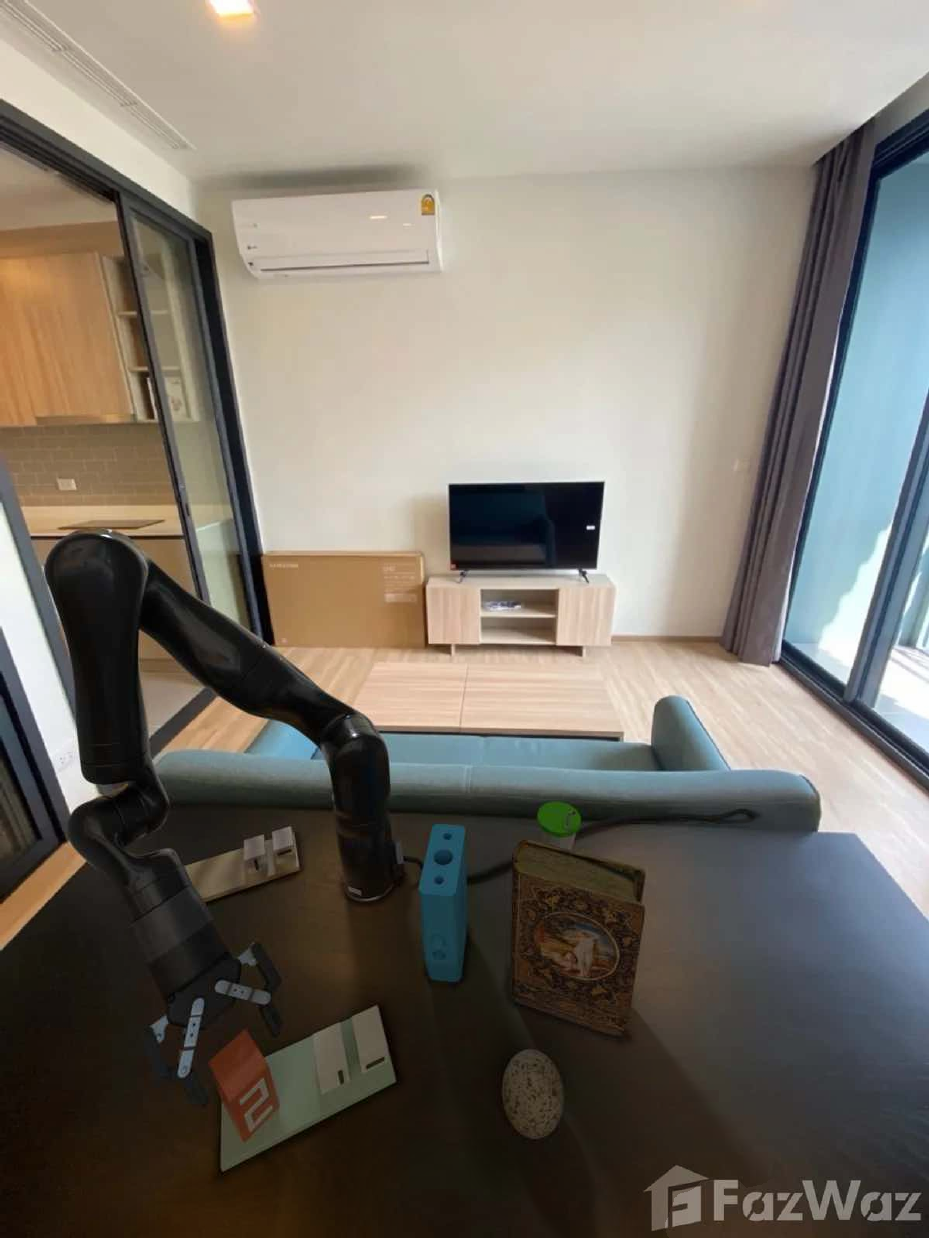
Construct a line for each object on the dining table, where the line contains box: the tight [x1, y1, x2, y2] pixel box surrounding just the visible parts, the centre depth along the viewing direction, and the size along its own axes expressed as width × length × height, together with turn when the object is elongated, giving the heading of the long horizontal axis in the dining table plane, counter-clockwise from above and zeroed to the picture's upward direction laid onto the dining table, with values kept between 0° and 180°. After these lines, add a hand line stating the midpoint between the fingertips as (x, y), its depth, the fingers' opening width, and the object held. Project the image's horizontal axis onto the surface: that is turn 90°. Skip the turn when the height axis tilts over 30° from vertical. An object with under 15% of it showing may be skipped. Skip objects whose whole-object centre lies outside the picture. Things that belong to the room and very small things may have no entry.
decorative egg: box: [501, 1048, 565, 1140], centre depth 58 cm, size 7×7×10 cm
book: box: [508, 839, 646, 1038], centre depth 66 cm, size 16×6×25 cm, turn 71°
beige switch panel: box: [183, 825, 301, 903], centre depth 92 cm, size 20×9×4 cm, turn 113°
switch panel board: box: [220, 1004, 397, 1172], centre depth 62 cm, size 20×9×4 cm, turn 113°
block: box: [418, 823, 468, 983], centre depth 74 cm, size 12×5×20 cm, turn 173°
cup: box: [536, 800, 582, 850], centre depth 91 cm, size 8×8×15 cm
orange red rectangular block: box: [207, 1028, 280, 1143], centre depth 58 cm, size 4×6×8 cm
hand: (243, 1067), depth 57 cm, fingers open, 8 cm apart
